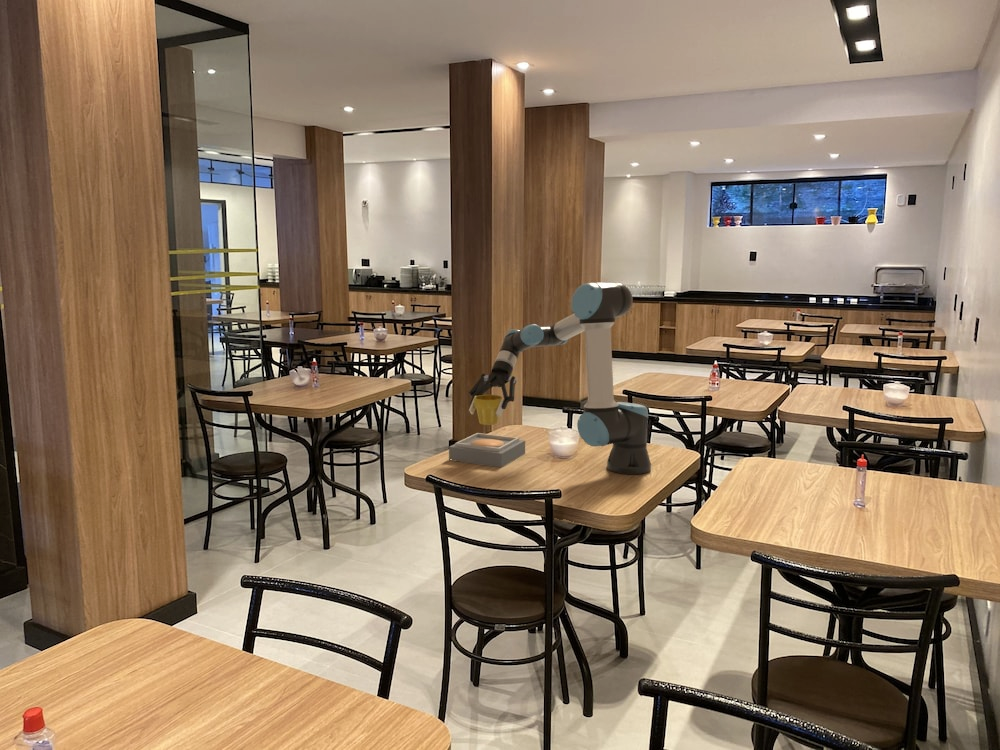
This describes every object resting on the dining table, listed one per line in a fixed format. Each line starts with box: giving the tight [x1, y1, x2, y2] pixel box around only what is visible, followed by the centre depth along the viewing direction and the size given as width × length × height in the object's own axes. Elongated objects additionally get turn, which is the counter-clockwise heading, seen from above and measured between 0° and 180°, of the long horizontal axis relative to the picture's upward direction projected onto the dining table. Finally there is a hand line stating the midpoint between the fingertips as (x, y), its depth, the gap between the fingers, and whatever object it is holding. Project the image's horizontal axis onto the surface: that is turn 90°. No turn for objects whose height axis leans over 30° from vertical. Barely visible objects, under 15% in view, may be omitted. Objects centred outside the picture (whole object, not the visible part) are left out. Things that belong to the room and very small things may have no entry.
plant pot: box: [474, 394, 503, 426], centre depth 266 cm, size 10×10×10 cm
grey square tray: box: [448, 432, 526, 468], centre depth 268 cm, size 21×21×6 cm
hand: (484, 413), depth 263 cm, fingers closed on plant pot, 10 cm apart
